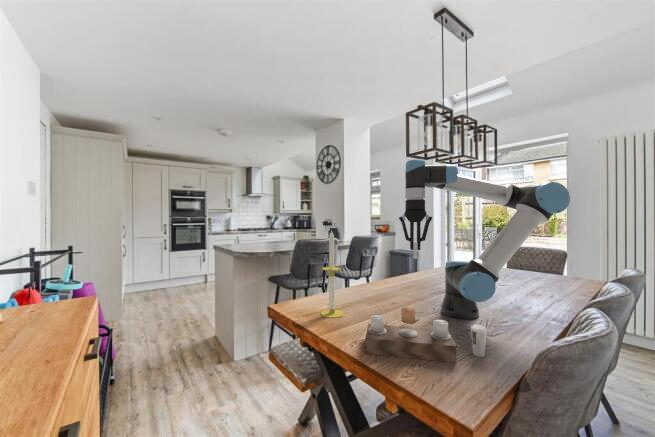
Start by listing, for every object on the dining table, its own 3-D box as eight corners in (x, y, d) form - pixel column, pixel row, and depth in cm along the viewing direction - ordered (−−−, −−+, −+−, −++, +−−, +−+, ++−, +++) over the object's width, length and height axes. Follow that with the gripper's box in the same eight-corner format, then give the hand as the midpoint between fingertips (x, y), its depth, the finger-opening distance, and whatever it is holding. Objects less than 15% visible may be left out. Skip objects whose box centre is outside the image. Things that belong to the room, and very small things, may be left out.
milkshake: (465, 351, 92) (465, 320, 92) (481, 350, 93) (481, 320, 92) (473, 358, 88) (473, 326, 87) (490, 357, 88) (490, 325, 88)
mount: (448, 344, 97) (448, 328, 97) (456, 362, 85) (456, 344, 85) (368, 337, 103) (368, 322, 103) (365, 353, 91) (365, 336, 91)
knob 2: (446, 332, 93) (446, 319, 93) (449, 338, 89) (449, 325, 89) (432, 331, 94) (432, 318, 94) (434, 336, 90) (434, 324, 90)
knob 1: (384, 327, 98) (384, 315, 98) (383, 332, 94) (383, 320, 93) (371, 326, 99) (371, 314, 99) (370, 331, 94) (370, 319, 94)
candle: (336, 319, 120) (335, 230, 119) (316, 315, 125) (315, 229, 124) (347, 312, 128) (346, 229, 127) (328, 308, 134) (327, 228, 133)
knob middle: (414, 319, 96) (414, 307, 95) (415, 324, 91) (415, 311, 91) (401, 318, 97) (401, 306, 96) (401, 323, 92) (401, 310, 92)
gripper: (431, 199, 116) (431, 257, 117) (398, 199, 119) (398, 256, 120) (433, 198, 109) (433, 260, 109) (398, 199, 112) (398, 259, 112)
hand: (415, 258), depth 115 cm, fingers closed
